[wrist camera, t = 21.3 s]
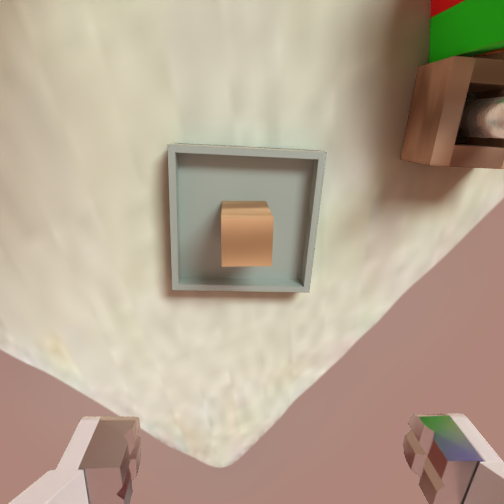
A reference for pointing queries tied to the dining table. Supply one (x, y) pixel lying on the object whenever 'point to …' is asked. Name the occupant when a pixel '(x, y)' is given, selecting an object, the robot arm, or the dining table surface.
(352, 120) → the dining table surface
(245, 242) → the oak block
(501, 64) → the brown square socket box
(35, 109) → the dining table surface
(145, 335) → the dining table surface
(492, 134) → the cylinder
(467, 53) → the puzzle toy
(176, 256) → the tray
